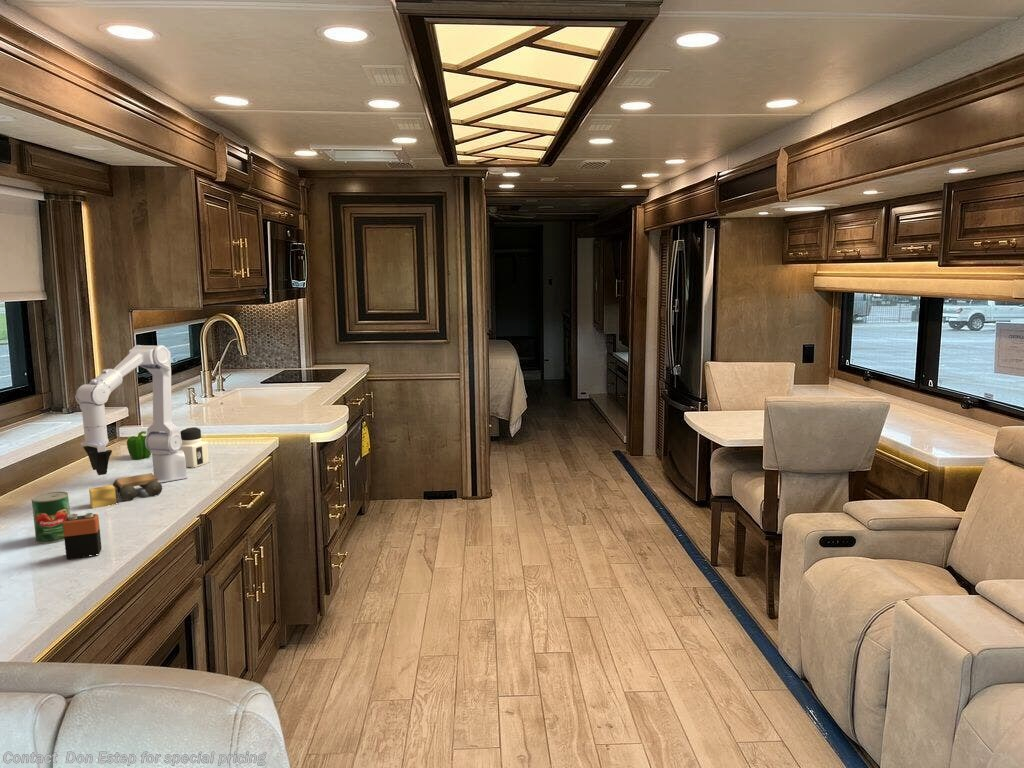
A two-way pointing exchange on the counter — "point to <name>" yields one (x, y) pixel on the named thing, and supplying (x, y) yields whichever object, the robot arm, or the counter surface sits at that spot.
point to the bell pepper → (138, 446)
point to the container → (194, 447)
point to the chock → (103, 496)
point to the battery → (82, 535)
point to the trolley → (143, 481)
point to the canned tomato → (50, 516)
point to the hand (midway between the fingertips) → (99, 471)
